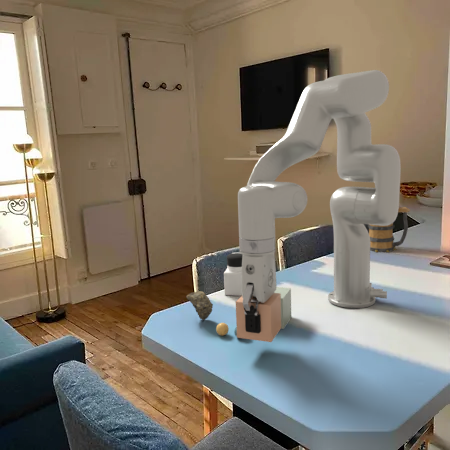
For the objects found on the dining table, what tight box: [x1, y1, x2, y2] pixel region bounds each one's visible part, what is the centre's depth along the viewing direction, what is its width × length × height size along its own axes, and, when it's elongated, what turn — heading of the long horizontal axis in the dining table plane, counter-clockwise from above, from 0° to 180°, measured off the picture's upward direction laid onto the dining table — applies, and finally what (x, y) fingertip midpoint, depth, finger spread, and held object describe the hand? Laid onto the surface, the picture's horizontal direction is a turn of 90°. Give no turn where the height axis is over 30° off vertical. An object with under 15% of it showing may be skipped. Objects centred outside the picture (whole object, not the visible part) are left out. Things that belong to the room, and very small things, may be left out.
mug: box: [366, 206, 411, 253], centre depth 172 cm, size 13×17×20 cm
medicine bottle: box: [223, 252, 243, 297], centre depth 135 cm, size 7×7×12 cm
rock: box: [186, 290, 214, 321], centre depth 114 cm, size 7×8×4 cm
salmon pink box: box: [235, 293, 281, 343], centre depth 96 cm, size 8×8×8 cm
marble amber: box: [215, 322, 230, 336], centre depth 106 cm, size 3×3×3 cm
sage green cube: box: [274, 286, 292, 330], centre depth 112 cm, size 8×8×8 cm
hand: (259, 324), depth 96 cm, fingers closed on salmon pink box, 7 cm apart
